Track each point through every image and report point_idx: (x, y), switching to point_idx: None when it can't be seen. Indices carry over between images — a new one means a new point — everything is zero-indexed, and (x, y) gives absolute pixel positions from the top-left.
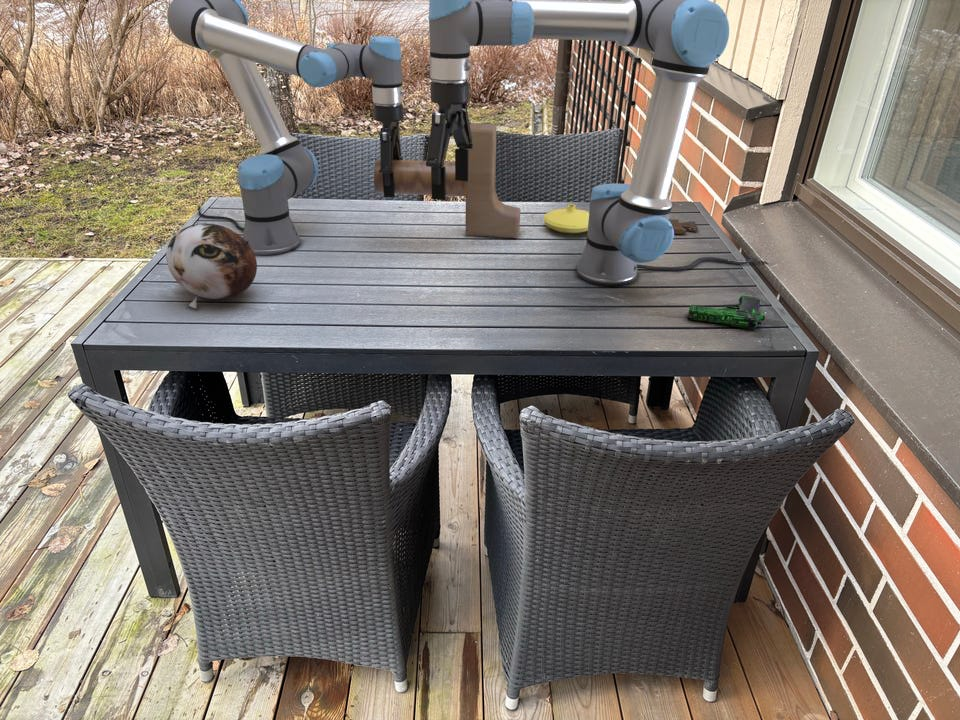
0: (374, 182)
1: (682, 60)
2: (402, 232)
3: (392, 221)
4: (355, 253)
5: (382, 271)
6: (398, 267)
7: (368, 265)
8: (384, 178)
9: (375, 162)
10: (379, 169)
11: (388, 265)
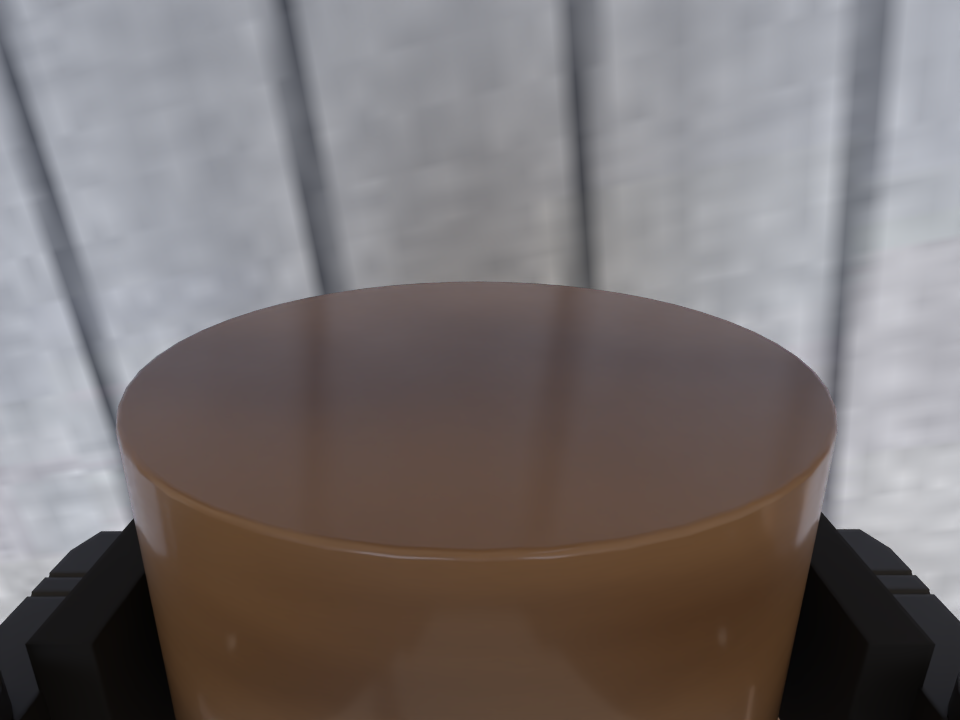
0: (171, 351)
1: None
2: (687, 299)
3: (917, 188)
4: (258, 47)
5: (27, 296)
6: (114, 375)
7: (85, 191)
8: (12, 615)
9: (289, 533)
10: (149, 575)
11: (124, 314)
